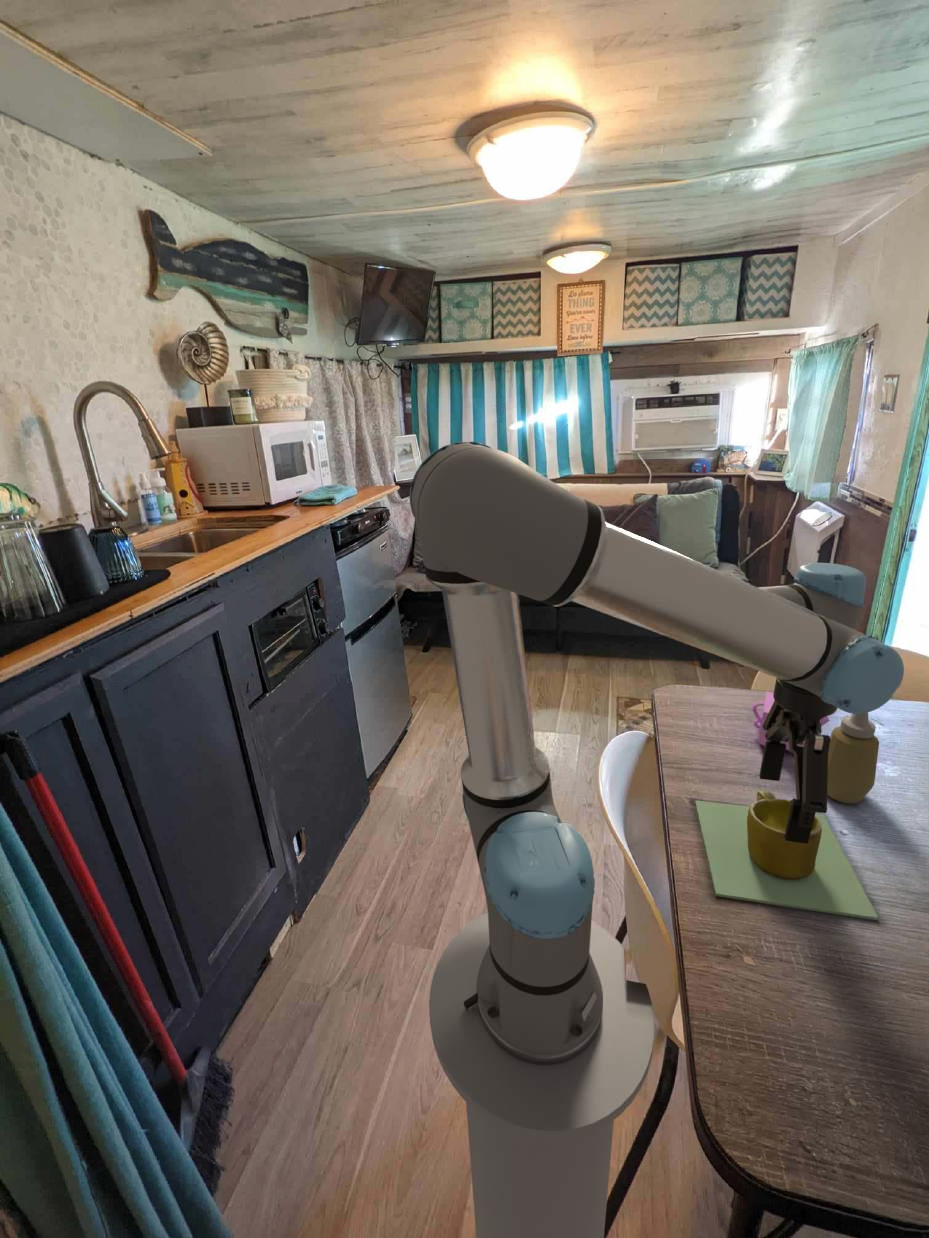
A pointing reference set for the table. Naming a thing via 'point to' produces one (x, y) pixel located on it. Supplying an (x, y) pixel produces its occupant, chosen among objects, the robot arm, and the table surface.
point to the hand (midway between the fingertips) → (781, 807)
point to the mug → (779, 839)
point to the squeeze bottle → (852, 759)
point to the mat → (744, 880)
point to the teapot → (767, 706)
